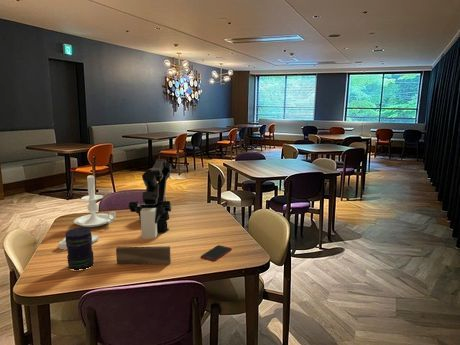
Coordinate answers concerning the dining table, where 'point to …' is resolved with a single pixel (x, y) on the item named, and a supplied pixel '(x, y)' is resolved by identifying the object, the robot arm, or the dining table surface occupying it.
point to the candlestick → (93, 208)
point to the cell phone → (216, 253)
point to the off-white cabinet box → (148, 223)
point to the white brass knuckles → (63, 243)
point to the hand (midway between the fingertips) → (148, 223)
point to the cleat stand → (143, 255)
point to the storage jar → (79, 248)
